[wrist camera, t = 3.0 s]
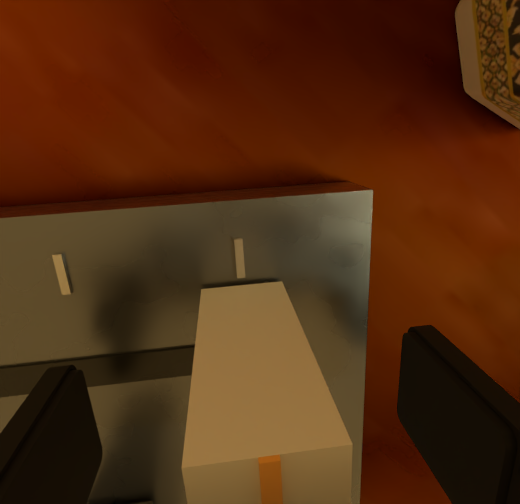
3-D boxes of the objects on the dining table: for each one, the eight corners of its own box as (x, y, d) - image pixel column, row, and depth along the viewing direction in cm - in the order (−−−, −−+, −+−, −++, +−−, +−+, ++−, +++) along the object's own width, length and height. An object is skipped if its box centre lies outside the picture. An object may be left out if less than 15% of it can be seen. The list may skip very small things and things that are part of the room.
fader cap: (282, 281, 11) (355, 450, 5) (287, 415, 12) (347, 660, 7) (201, 289, 11) (181, 474, 5) (217, 424, 12) (216, 686, 6)
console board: (349, 181, 12) (375, 190, 10) (341, 544, 18) (357, 597, 16) (-390, 235, 10) (-537, 260, 8) (-138, 622, 16) (-189, 693, 14)
